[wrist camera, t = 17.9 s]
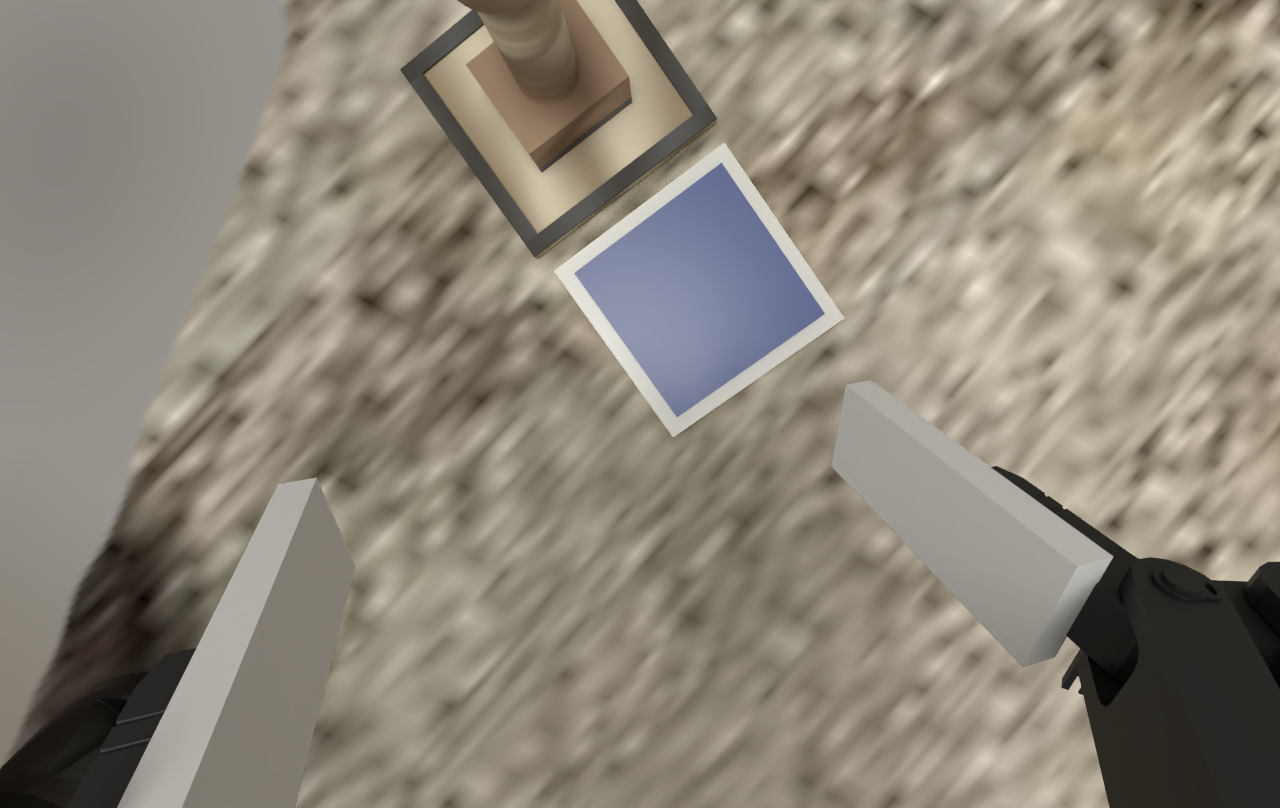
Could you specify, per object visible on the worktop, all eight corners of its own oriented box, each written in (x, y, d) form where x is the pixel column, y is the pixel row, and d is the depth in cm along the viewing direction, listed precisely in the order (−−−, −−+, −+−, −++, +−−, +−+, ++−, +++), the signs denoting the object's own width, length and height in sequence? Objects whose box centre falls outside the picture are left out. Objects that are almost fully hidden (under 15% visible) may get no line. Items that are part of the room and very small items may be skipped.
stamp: (541, 172, 34) (450, 42, 19) (484, 91, 33) (348, -103, 19) (632, 102, 33) (607, -88, 19) (575, 19, 33) (504, -239, 18)
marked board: (537, 258, 35) (534, 256, 34) (406, 76, 34) (400, 69, 33) (715, 123, 33) (716, 118, 33) (583, -71, 33) (581, -81, 32)
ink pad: (672, 435, 36) (673, 439, 34) (557, 273, 35) (551, 269, 33) (839, 319, 34) (848, 317, 33) (722, 148, 34) (725, 137, 32)
